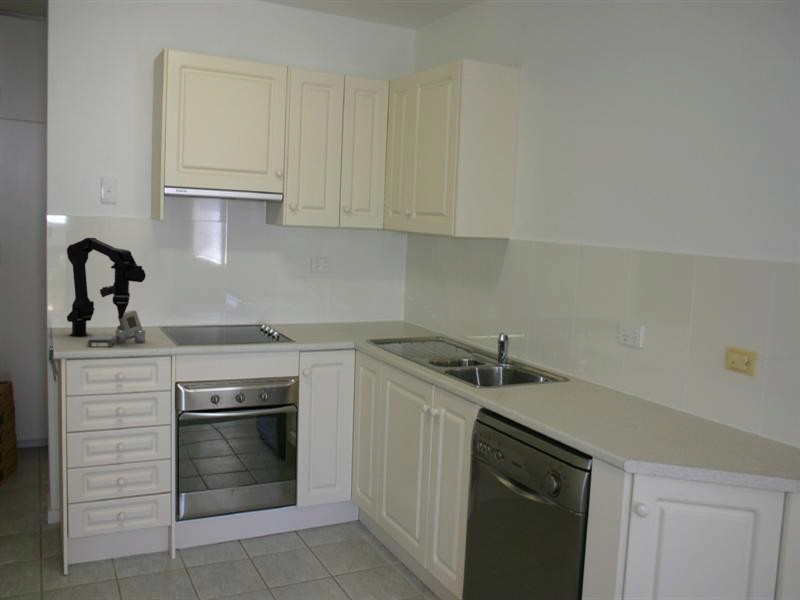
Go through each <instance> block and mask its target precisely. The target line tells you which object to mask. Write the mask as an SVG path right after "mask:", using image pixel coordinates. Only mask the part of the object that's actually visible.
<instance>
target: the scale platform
mask: <svg viewBox="0 0 800 600" xmlns="http://www.w3.org/2000/svg"><path fill="white" fill-rule="evenodd" d="M87 336H88V337H87V340H88V341H89V340H112V338H113V333H106V332H105V333H104V332H103V333H101V332H100V333H99V332H98V333H95V332H94V333H89V334H88V335H87Z"/></svg>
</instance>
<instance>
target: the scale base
mask: <svg viewBox="0 0 800 600" xmlns="http://www.w3.org/2000/svg"><path fill="white" fill-rule="evenodd" d="M113 340H114V339H113V337H112V340H88V341H87V348H112V347H113Z"/></svg>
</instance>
